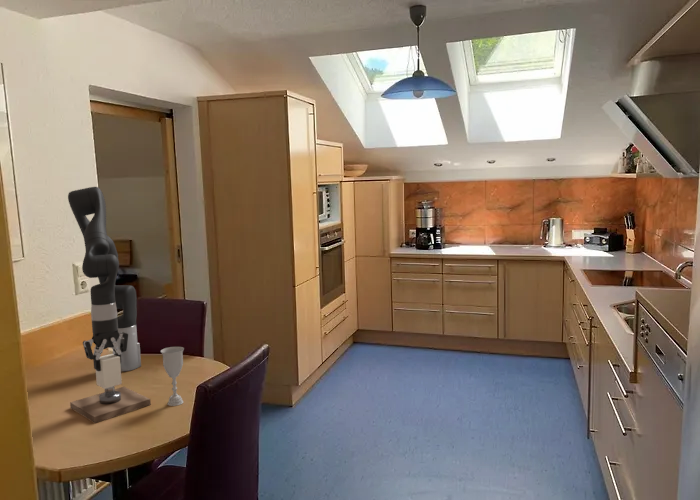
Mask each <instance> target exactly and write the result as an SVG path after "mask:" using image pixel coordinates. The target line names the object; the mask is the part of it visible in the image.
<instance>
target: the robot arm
mask: <svg viewBox="0 0 700 500" xmlns="http://www.w3.org/2000/svg"><path fill="white" fill-rule="evenodd" d="M67 199H68V200H67V201H68V204H69V207H70V209H71V211H72V213H73V214H72V215H73V216H74V218H75V220H76V223H77V225H78V227H79V229H80V232H81V234H82V236H83V241H84V247H85V255H84V258H83V260H82V266H81V267H82V268H81V269H82V273H83V275H85V276H86V277H87V278H89V279H93V278H94V279H96V278H97V279H98V281H99V283H98V284H95V285H92V286H91V288H90V290H89V292H90V302H91V303H90V304H91V308H90V314H91V317H90V318H91V327H92V331H91V332H92V337H91V339H88V340H83V341H82V346H83V349H84V353H85V356H86V359H89V360H92V362H93V368H94V370H95V372H96V371H101V365H100V359H99V358H100V357H101V355H102V354H103V351H104V350H107V349H110V348H111V350H112V354H114V355H116V356H119V357H120V365H121V372H130V371H133V370H136V369H138V368H140V367H142V360H141V347H140V346H141V345H140V344H141V343H140V342H138V332H137V331H138V330H137V314H138V312H137V310H138V309H137V308H138V307H137V305H138V303H137V290H136V289H135V287H134V286H133V285H129V284H128V285H127V284H123V285H119V284H118V285H116V283H117V282H116V281H117V275H118V274H119V273H118V272H119V269H120V260H119V254H118V251H117V247H116V245H115V242H114V240H113V239H112V238H111V237H110V236H109V235H107V205H106V199H105V197H104V194H103V192H102V189H101V188H100V187H98V186H90V187H85V188H80V189H75V190H72V191H69V192H68V195H67ZM89 215H93V217H92V218H91V220H89V218H88V217H87V216H89ZM118 310H122V314H121V315H119V316H118ZM93 344H94V345H95V347H94V349H92V347H93Z"/></svg>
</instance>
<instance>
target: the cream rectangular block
mask: <svg viewBox="0 0 700 500" xmlns="http://www.w3.org/2000/svg"><path fill="white" fill-rule="evenodd" d="M99 359H100V365H101V371H96V370H95V378H96V385H97V386H98V387H100V388H101V389H104V390H105V389H106V388H109V387H113V386H114V387H115V386H119V385H122V384H123V383H122V381H123V380H122V371H121V365H120V357H119V356H116V355H114V354H113V353H109V354H106V355H102V356H101V355H100V358H99Z"/></svg>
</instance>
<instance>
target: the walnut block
mask: <svg viewBox="0 0 700 500" xmlns="http://www.w3.org/2000/svg"><path fill="white" fill-rule="evenodd" d="M115 391H119V392H120V393H121V400H120V401H119V402H116V403H113V404H100V401H99V396H100V395H101V394H103V393H105V391H104V392H101V393H97V394H94V395H91V396H87V397H84V398H80V399H76V400H73V401H70V403H69V404H70V409H71V410H72V411H74V412H76V413H78V414H79V415H81V416H83V417H84V418H86V419H87V420H90V421H91V422H92V423H94V424H97V423H100V422H102V421H106V420H108V419H112V418H116V417H118V416H121V415H124V414H126V413H127V414H128V413H131V412H132V411H133V412H134V411H137V410H139V409H142V408H146V407H149V406H150V405H151V398H149V397H147V396H145V395H144V394H141V393H138V392H137V391H134V390H133V389H130V388H128V387H126V386H122V387H118V388H115Z"/></svg>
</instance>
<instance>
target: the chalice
mask: <svg viewBox="0 0 700 500" xmlns="http://www.w3.org/2000/svg"><path fill="white" fill-rule="evenodd" d="M184 350H185V347H183V346H170V347H165V348H163V349H161V350H160V353H161V354H162V362H163V363H162V366H163V368H164V371H165V372H166V374H167V375H168V377H169V378H171V380H172V382H171V385H172V388H171V390H172V392H173V393H172V395H171V396H170V397H169V399H168V402H167V406H170V407H175V406H181V405H182V404H183V403H184V400H183V398H182V396H181V395H180V394H178V392H177V391H178V390H177V389H178V387H177V384H178V382H177V377H179V375H180V374H181V372H182V369H183V365H184V357H183V353H184Z"/></svg>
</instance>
